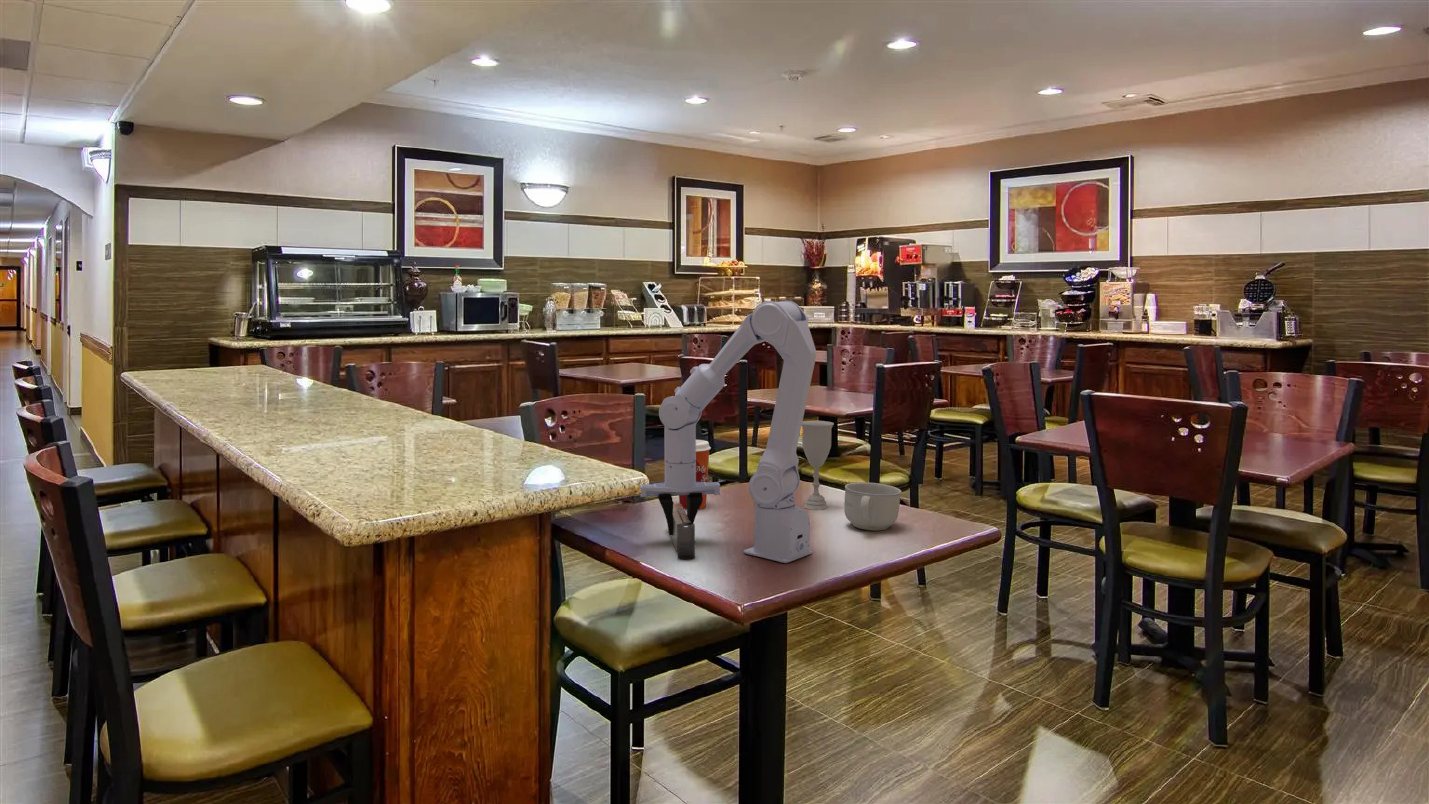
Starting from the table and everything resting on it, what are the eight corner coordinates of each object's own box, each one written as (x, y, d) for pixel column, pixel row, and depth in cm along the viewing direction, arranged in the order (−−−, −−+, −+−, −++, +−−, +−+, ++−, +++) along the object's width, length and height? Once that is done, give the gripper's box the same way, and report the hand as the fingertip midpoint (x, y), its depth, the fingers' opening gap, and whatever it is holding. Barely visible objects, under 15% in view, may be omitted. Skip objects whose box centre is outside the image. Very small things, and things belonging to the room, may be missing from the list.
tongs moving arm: (683, 552, 159) (683, 524, 159) (676, 552, 159) (676, 524, 159) (673, 527, 176) (673, 502, 175) (667, 527, 176) (667, 502, 175)
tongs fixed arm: (696, 559, 156) (695, 526, 155) (678, 560, 156) (678, 527, 155) (681, 528, 176) (681, 499, 175) (666, 529, 176) (666, 500, 175)
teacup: (856, 517, 185) (857, 478, 184) (908, 524, 179) (909, 484, 178) (828, 533, 173) (829, 492, 172) (882, 541, 167) (883, 498, 166)
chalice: (792, 506, 194) (793, 422, 192) (813, 501, 199) (814, 419, 196) (818, 512, 189) (819, 426, 186) (839, 507, 193) (840, 423, 191)
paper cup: (706, 511, 189) (706, 445, 188) (670, 510, 191) (670, 444, 189) (714, 503, 197) (714, 439, 195) (679, 501, 198) (679, 438, 197)
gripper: (716, 455, 170) (715, 526, 172) (638, 457, 168) (639, 529, 170) (722, 463, 163) (721, 536, 165) (641, 465, 161) (642, 539, 163)
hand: (680, 533), depth 167 cm, fingers open, 3 cm apart
